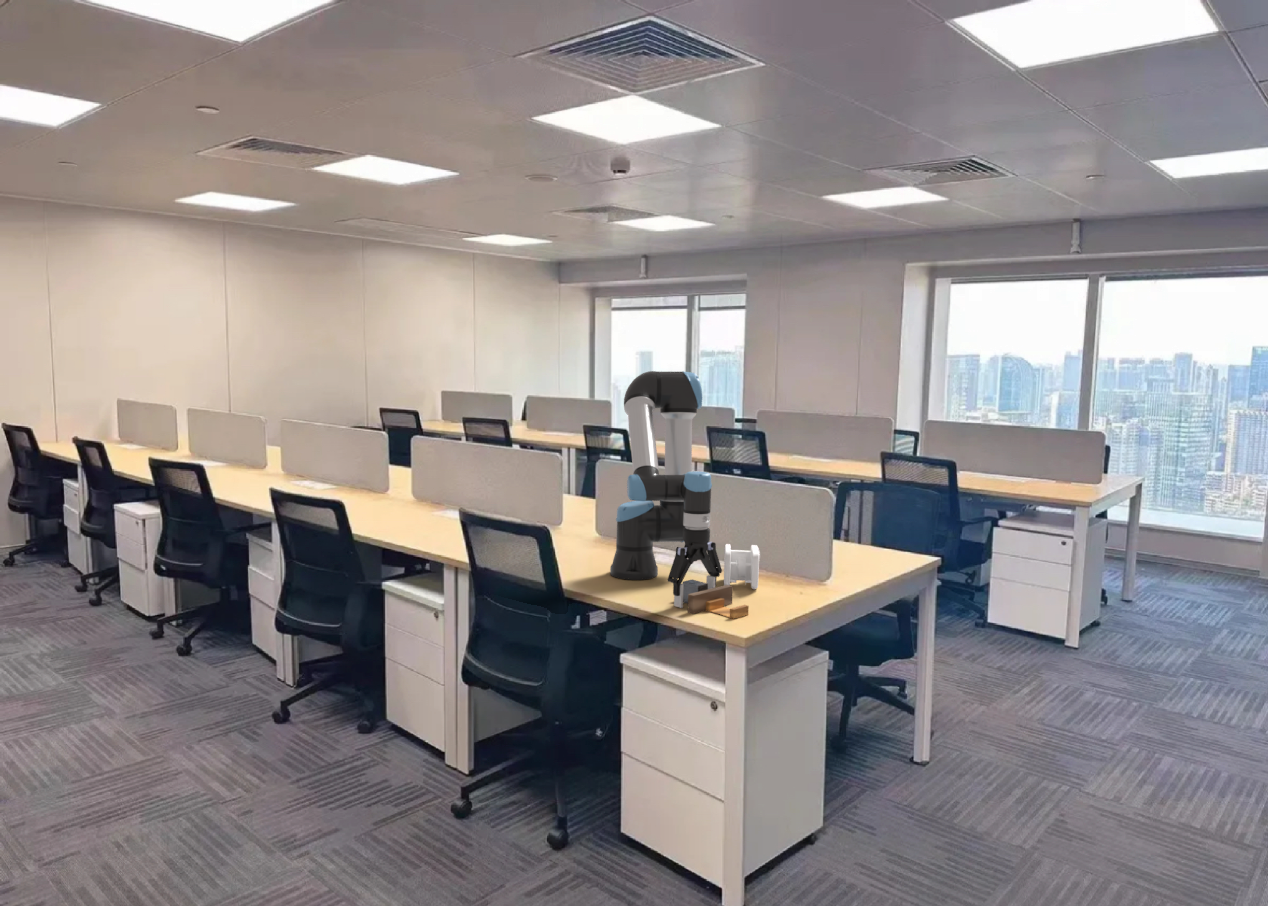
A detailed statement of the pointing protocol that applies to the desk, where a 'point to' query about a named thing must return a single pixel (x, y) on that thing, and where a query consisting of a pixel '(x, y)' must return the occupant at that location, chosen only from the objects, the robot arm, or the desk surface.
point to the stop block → (692, 588)
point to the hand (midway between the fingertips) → (694, 602)
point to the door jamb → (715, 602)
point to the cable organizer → (741, 565)
